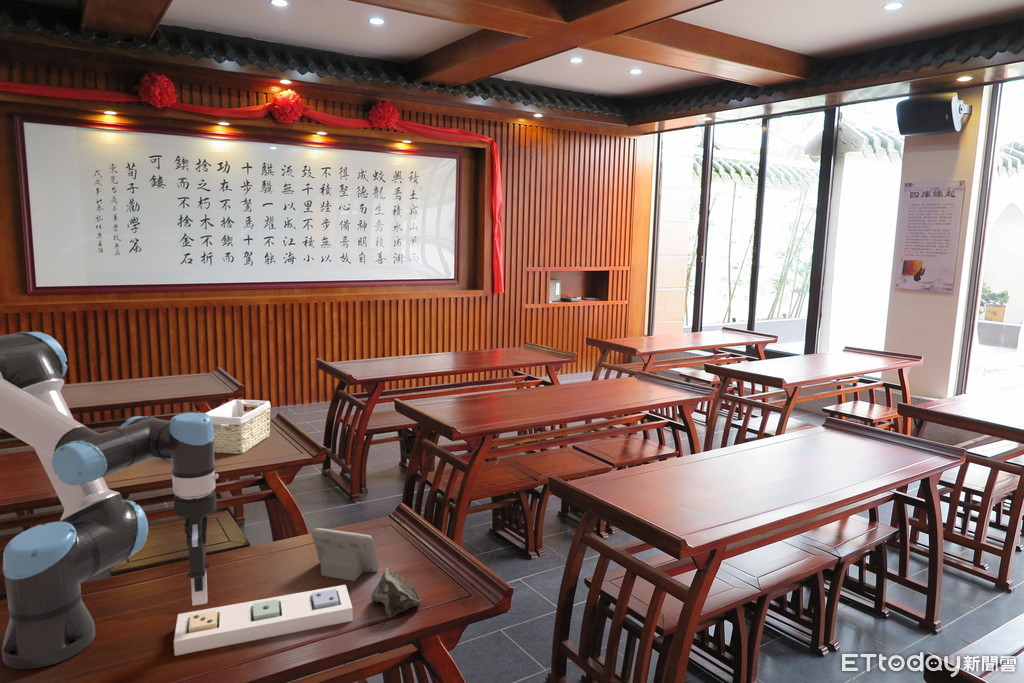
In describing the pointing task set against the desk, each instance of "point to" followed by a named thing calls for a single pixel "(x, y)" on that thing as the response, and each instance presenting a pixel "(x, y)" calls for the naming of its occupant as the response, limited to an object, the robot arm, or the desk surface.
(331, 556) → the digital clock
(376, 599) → the grey rock
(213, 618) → the tile three
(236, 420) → the storage basket
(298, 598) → the tile panel
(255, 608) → the tile one
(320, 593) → the tile two
